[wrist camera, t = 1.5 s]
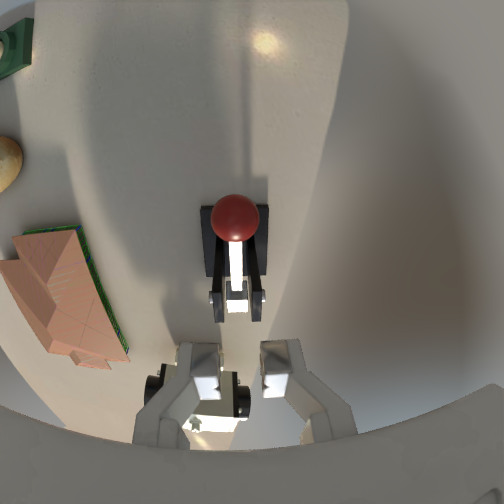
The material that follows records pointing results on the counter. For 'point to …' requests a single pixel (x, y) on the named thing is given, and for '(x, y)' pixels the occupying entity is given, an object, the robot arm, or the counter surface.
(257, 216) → the lever
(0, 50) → the button
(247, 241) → the bracket
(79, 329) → the house
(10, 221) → the counter surface
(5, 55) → the control block
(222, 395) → the ball valve
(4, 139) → the bread roll
